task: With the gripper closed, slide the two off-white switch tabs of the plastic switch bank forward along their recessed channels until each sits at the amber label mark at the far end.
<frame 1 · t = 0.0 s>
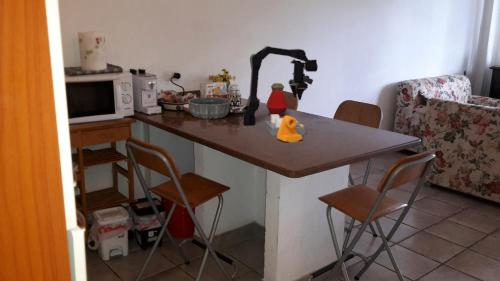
hand: (297, 98, 266), 15 cm above the worktop, fingers open, 9 cm apart
tab b: (279, 124, 242), point 5 cm above the worktop, slide at 0.0 cm
bundt pan: (209, 116, 283), on the worktop
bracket: (289, 140, 231), on the worktop
tab a: (274, 120, 252), point 5 cm above the worktop, slide at 0.0 cm
bottle: (276, 115, 292), on the worktop
switch bank: (283, 131, 249), on the worktop
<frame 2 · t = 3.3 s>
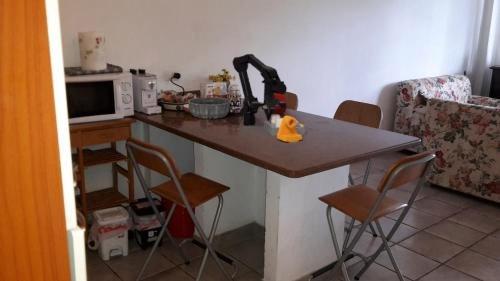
hand: (268, 120, 251), 5 cm above the worktop, fingers closed
tab a: (275, 120, 252), point 5 cm above the worktop, slide at 0.1 cm, touching gripper
everything else where it was.
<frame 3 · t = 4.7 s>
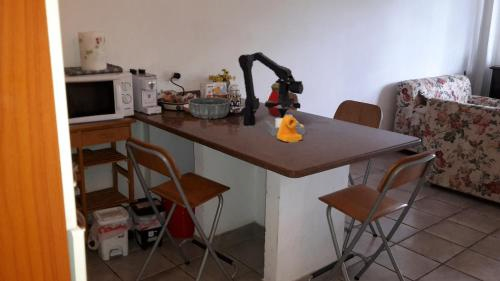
hand: (281, 120, 252), 5 cm above the worktop, fingers closed
tab a: (287, 120, 253), point 5 cm above the worktop, slide at 7.4 cm, touching gripper
everything else where it was.
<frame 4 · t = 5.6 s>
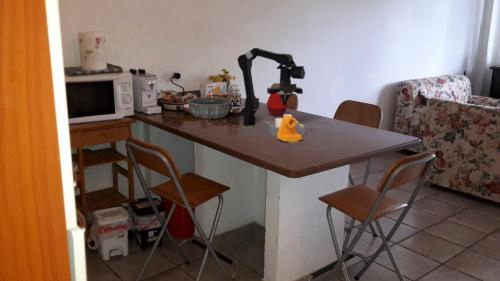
hand: (284, 106, 251), 13 cm above the worktop, fingers closed
tab a: (287, 120, 253), point 5 cm above the worktop, slide at 7.1 cm
everything else where it was.
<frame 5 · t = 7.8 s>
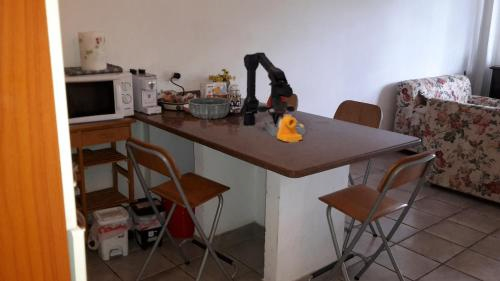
hand: (275, 124, 242), 5 cm above the worktop, fingers closed
tab b: (282, 124, 243), point 5 cm above the worktop, slide at 1.5 cm, touching gripper
everything else where it was.
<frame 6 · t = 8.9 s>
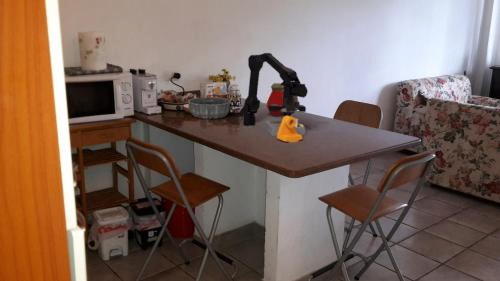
hand: (286, 124, 243), 5 cm above the worktop, fingers closed
tab b: (292, 124, 244), point 5 cm above the worktop, slide at 7.3 cm, touching gripper
everything else where it was.
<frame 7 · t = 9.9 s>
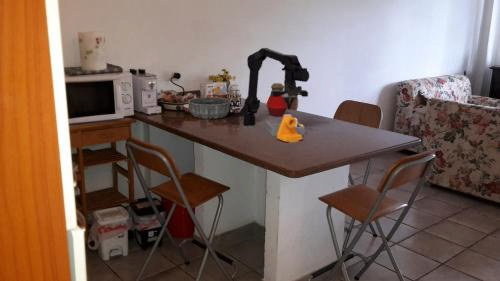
hand: (288, 109, 241), 13 cm above the worktop, fingers closed
tab b: (292, 124, 244), point 5 cm above the worktop, slide at 7.1 cm
everything else where it was.
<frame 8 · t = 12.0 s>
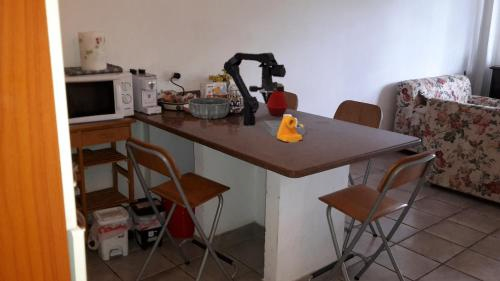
hand: (266, 104, 255), 13 cm above the worktop, fingers closed
nothing on the worktop moved.
at the end: tab a slide at 7.1 cm; tab b slide at 7.1 cm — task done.
